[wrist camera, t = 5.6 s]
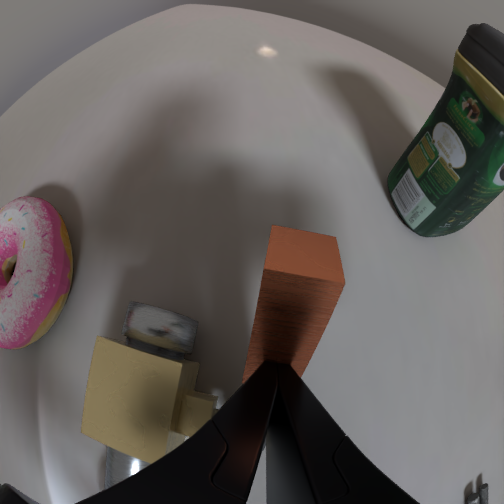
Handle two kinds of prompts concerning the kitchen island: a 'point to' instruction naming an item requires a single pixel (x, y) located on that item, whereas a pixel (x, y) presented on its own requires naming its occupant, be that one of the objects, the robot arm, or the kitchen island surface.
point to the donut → (32, 270)
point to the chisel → (294, 298)
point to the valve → (474, 498)
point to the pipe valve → (144, 391)
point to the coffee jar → (457, 143)
